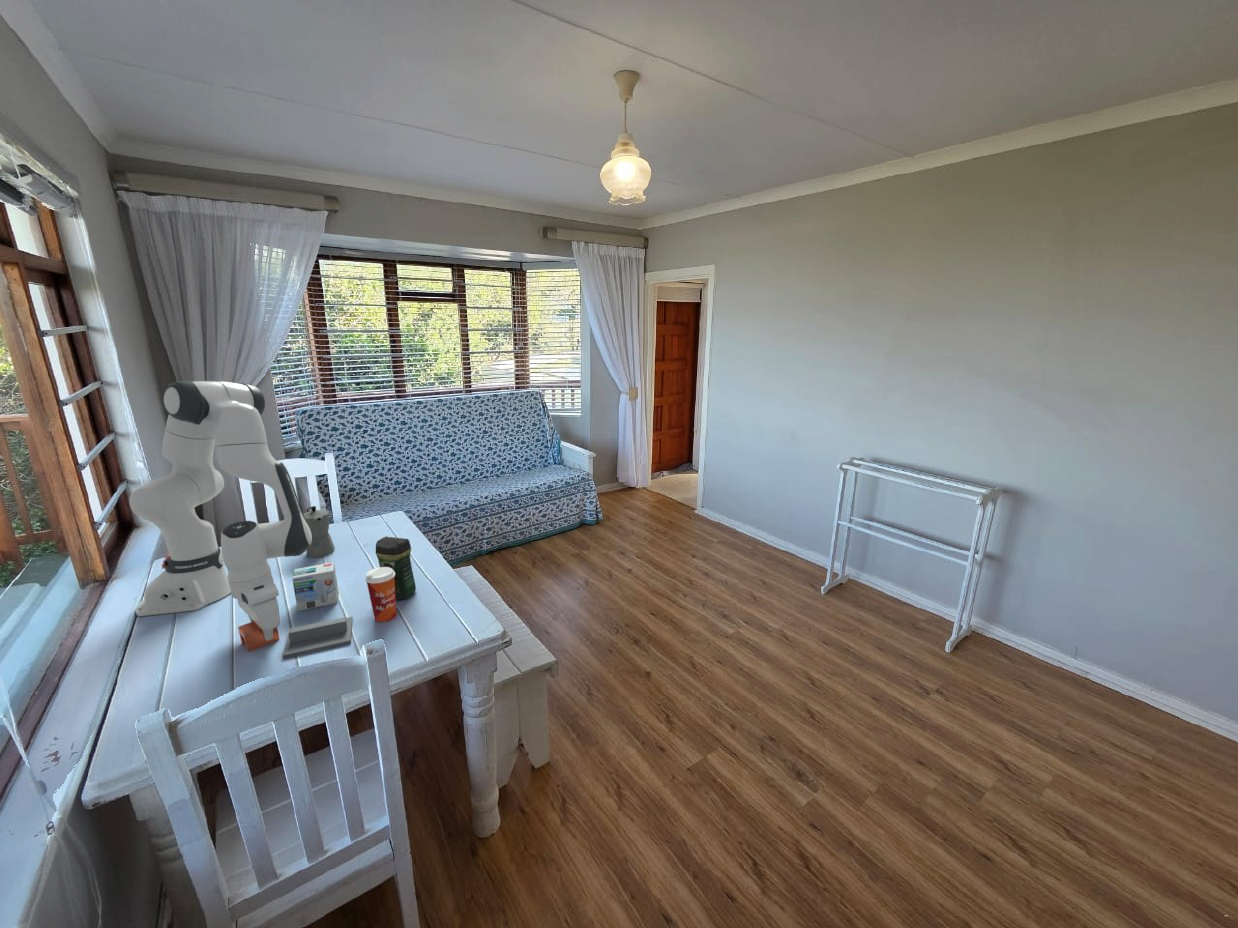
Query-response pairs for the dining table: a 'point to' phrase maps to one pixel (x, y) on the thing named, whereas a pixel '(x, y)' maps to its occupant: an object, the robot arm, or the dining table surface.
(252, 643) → the block
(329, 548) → the coffeepot
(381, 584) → the paper cup
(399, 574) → the coffee jar
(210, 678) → the dining table surface
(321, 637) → the stand
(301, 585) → the light bulb box
